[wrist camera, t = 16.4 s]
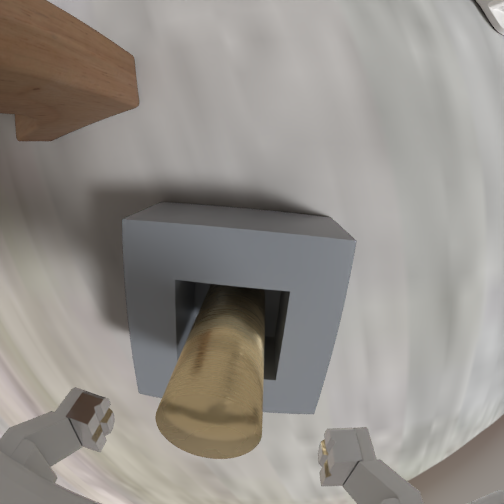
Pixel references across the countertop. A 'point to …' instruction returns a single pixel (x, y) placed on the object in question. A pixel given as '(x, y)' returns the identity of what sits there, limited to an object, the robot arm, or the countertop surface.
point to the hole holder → (241, 275)
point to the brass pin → (219, 377)
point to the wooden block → (59, 71)
